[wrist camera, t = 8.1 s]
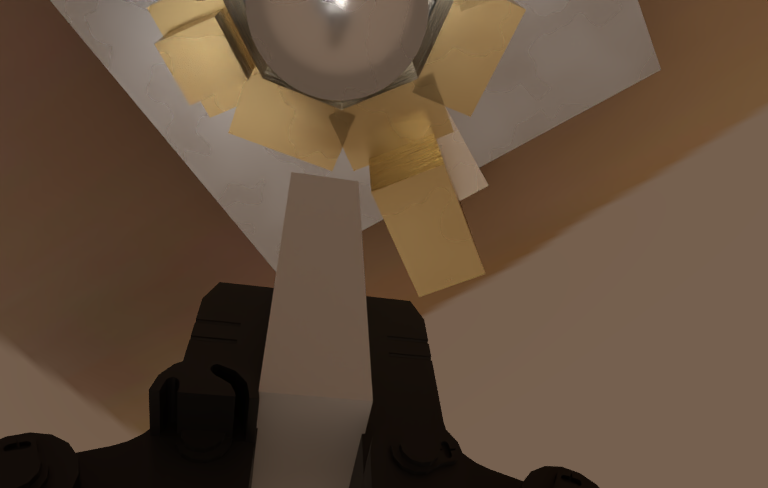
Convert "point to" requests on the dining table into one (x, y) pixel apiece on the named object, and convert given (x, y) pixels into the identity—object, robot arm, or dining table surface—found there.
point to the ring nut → (357, 115)
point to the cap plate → (499, 123)
